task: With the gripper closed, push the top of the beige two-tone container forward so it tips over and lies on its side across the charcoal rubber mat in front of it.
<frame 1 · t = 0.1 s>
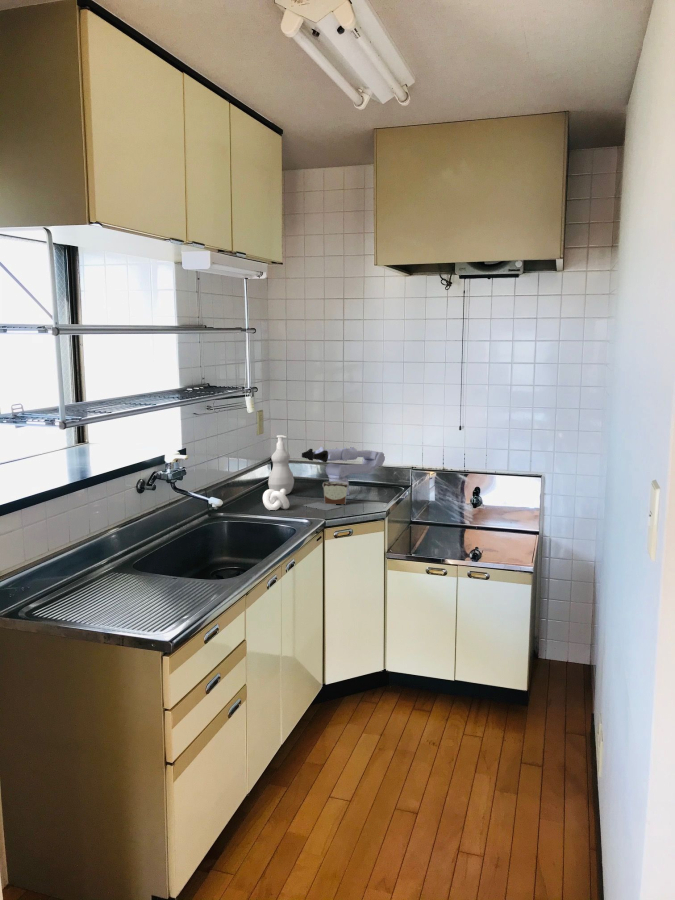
hand: (307, 455, 335), 22 cm above the counter, tool horizontal, fingers open, 7 cm apart
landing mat: (322, 506, 325), on the counter
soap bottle: (281, 494, 358), on the counter
white knot: (277, 509, 322), on the counter
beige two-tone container: (335, 503, 331), on the counter, touching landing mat
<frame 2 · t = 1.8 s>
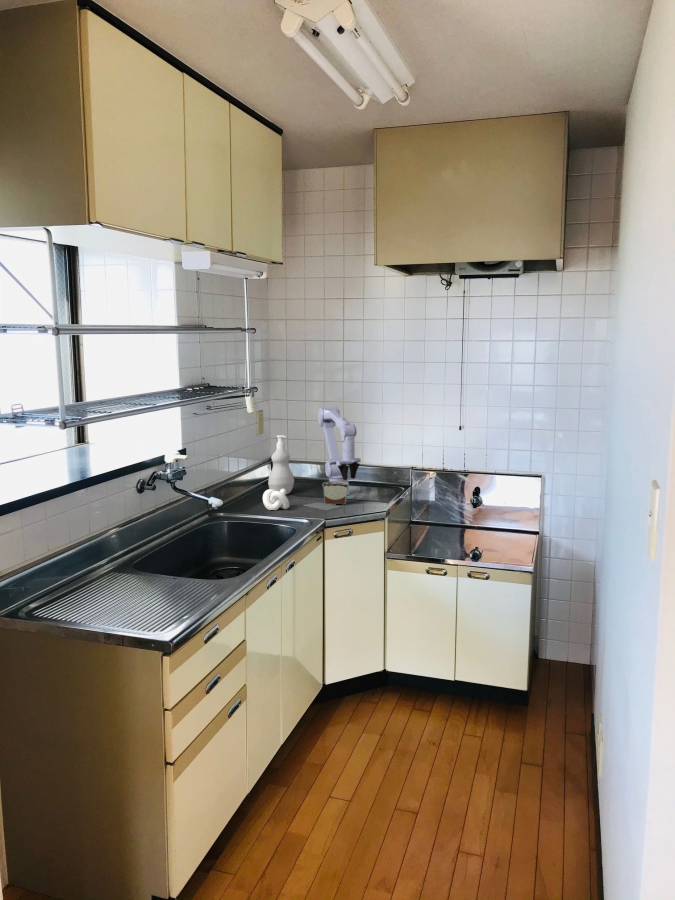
hand: (348, 479, 336), 10 cm above the counter, tool pointing down, fingers open, 5 cm apart
nothing on the counter moved.
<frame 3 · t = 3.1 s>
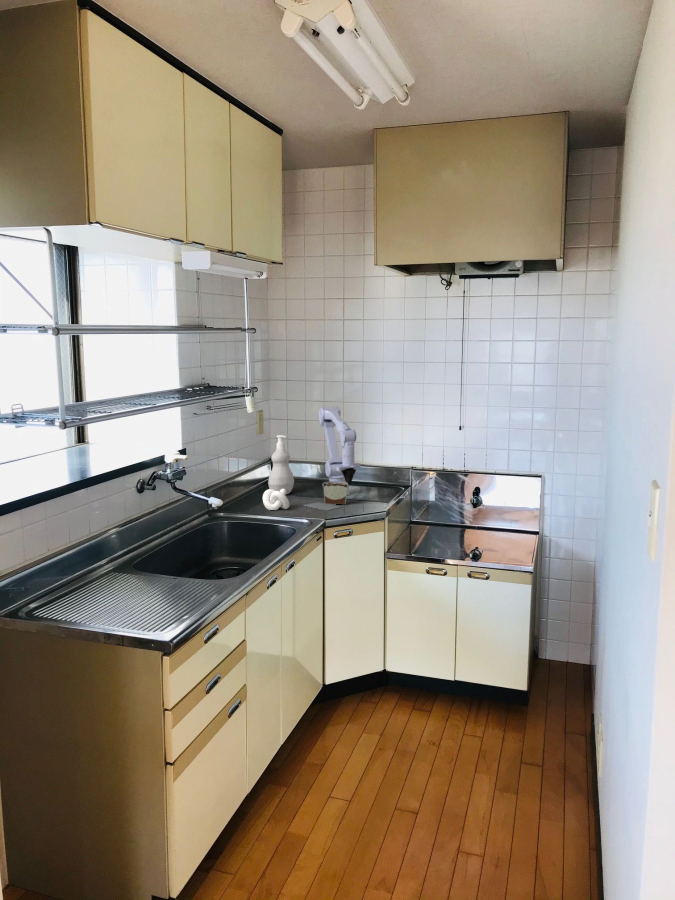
hand: (348, 484, 337), 8 cm above the counter, tool pointing down, fingers closed
nothing on the counter moved.
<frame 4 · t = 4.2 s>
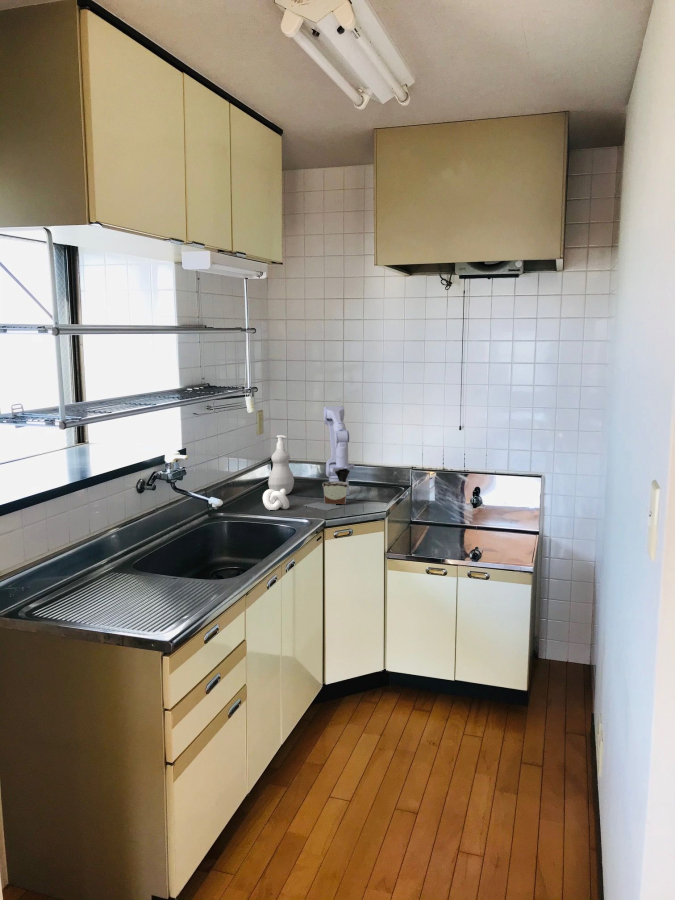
hand: (342, 485, 334), 8 cm above the counter, tool pointing down, fingers closed, pressing on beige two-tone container
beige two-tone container: (335, 503, 331), on the counter, touching gripper, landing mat
everything else where it was.
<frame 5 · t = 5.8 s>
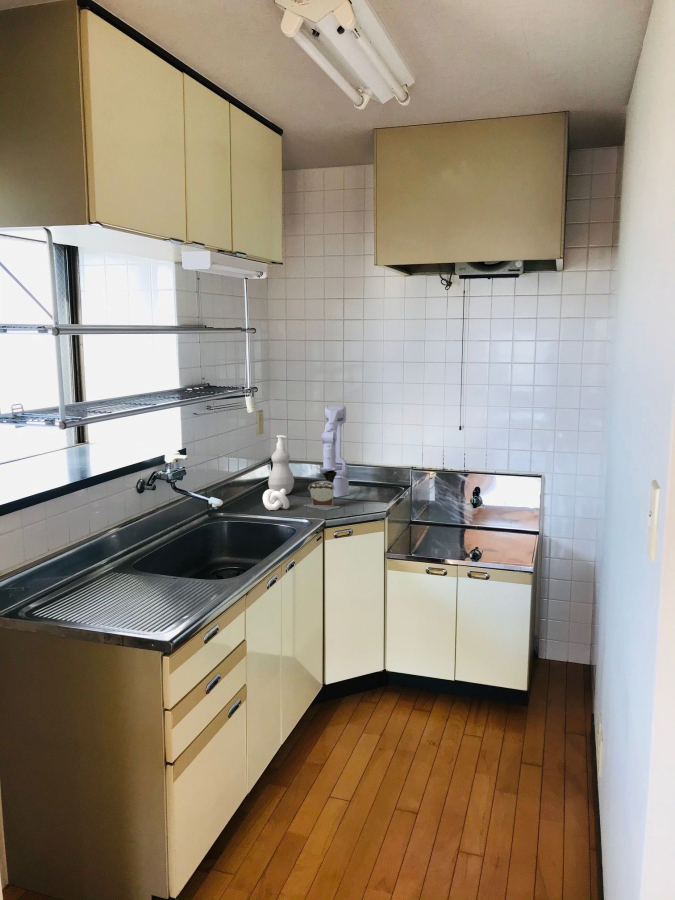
hand: (329, 487, 327), 8 cm above the counter, tool pointing down, fingers closed, pressing on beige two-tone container
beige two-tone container: (324, 503, 328), point 1 cm above the counter, touching gripper, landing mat
everything else where it was.
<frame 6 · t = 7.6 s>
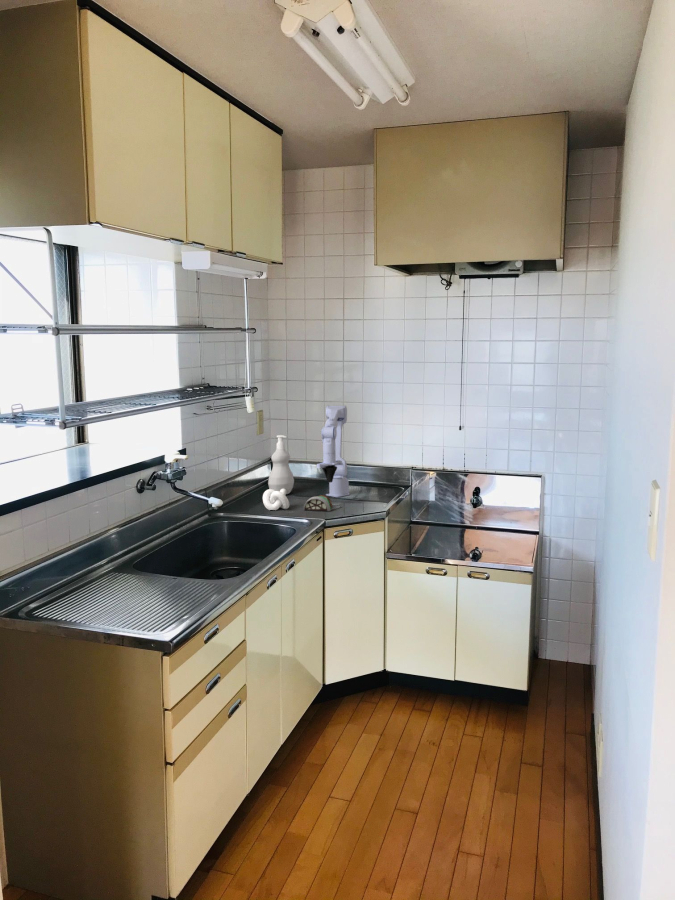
hand: (329, 482, 330), 10 cm above the counter, tool pointing down, fingers closed
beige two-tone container: (322, 499, 325), point 4 cm above the counter, touching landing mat
everything else where it was.
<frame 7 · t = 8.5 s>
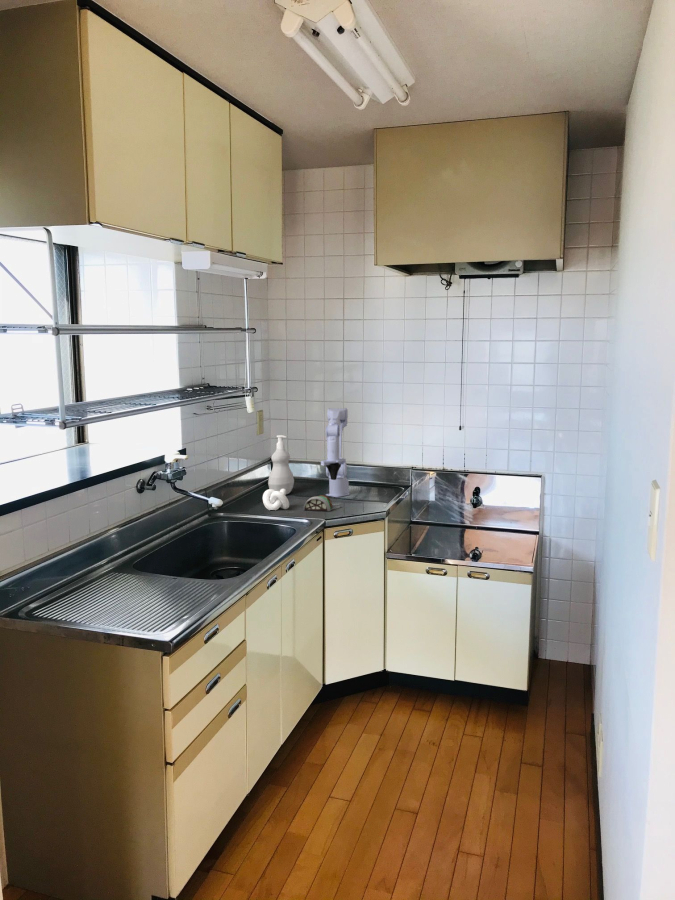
hand: (333, 479, 336), 10 cm above the counter, tool pointing down, fingers closed
nothing on the counter moved.
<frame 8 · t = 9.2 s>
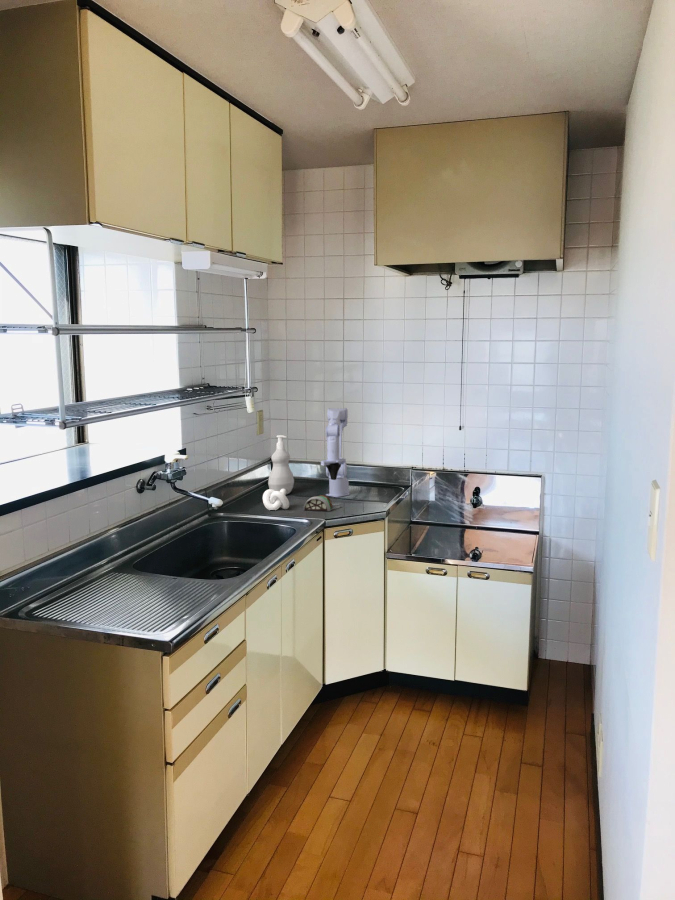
hand: (333, 479, 336), 10 cm above the counter, tool pointing down, fingers closed
nothing on the counter moved.
at the end: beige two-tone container tilted 92°; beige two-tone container inside the target area (4.1 cm from its centre), point 3.6 cm above the counter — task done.
